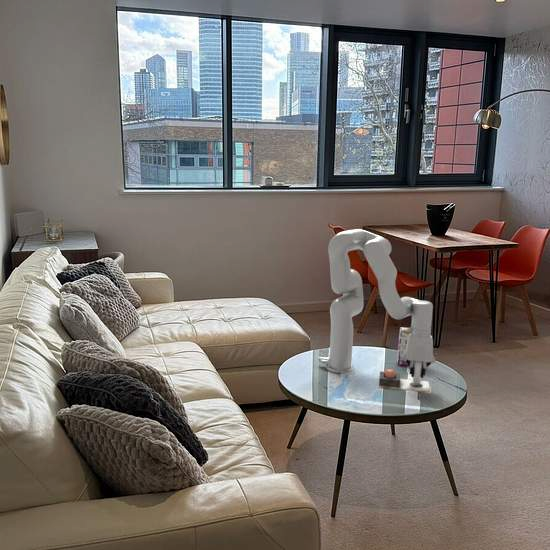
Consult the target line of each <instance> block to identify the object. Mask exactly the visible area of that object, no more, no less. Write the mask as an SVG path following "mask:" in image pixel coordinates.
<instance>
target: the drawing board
mask: <svg viewBox="0 0 550 550" xmlns="http://www.w3.org/2000/svg"><path fill="white" fill-rule="evenodd" d="M378 380H379V382H378V388H379V389H390V390H397V391H398V390H399V391H408V392H417V393H418V392H419V393H426V394H432V390H431V383H430V381H428V380H421V382H420V383H415V382H413V379H412V378H411V379H410V378H401V373H400V372H395V378H386V377H385V371H379V379H378Z"/></svg>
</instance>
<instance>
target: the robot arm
mask: <svg viewBox="0 0 550 550" xmlns="http://www.w3.org/2000/svg"><path fill="white" fill-rule="evenodd" d="M356 250H360V251H362V252H363V255H364V257H365V259H366V261H367V262H368V265H369V266H370V268H371V270H372V272H373V273H374V276H375V278H376V280H377V284H378V285H377V286H378V292H379V297H380V300H381V303H382V304H383V306H384V308H385V310H386V311H387V313H388V314H389V316H391V318H392V319H395V320H403V319H404V318H406V317H407V318H408V317H410V316H411V325H410V327H406V328H407V332H410V334H409V336H408V341H407V346H406V352H405V353H404V354H403V356H402V357H401V358H402V360H403V361H405V362H407V364H408V365H409V375H411V376H410V377H411V378H413V376H414V365H413V363H414V361H420V362H423V365H422V372H421V379H424V376H426V369H427V368H428V367H429V366H431V365H433V364H435V363H436V361H437V360H436V358H435V357H434V354H433V351H434V339H433V336H432V335H431V333H432V331H431V330H432V321H433V309H434V306H433V303H432V302H431V301H428V300H421V299H416V298H414V297H411V296H402V297H401V296H400V295H399V293H398V290H397V287H396V279H397V276H398V275H397V274H398V271H397V268H396V266H395V263H394V262H393V261H392V259H391V257H390V254H391V252H392V244H391V242H390V241H389V240H388V238H385V237H383V236H380V235H378V234H375V233H373V232H370V231H367V230H364V229H361V228H353V229H348V230H344V231H340V232H338V233H337V234H335V235H334V236H333V237H332V238H331V239H330V241H329V243H328V248H327V253H328V257H329V270H330V271H329V273H330V284H331V285H330V286H331V290H332V291H333V292H334V293H335V294H337V295H342V296H340V297H338V298H336V299H334V300H333V301H332V302H331V305H330V308H329V315H330V341H329V342H330V345H329V356H326V357H324V356H319V357H318V362H320V364H325V369H326V370H327V371H328V372H332V373H336V374H342V372H343V373H344V372H351V371H353V370H355V369H356V367H355V365H354V364H353V363H352V359H353V343H354V324H353V317H354V316H357V315H359V314H360V313H361V312H362V311H363V309H364V290H363V280H362V276H361V275H360V273H359V272H358V271H357V270H355V269H354V268H353V269H352V268H351V261H350V257H349V255H348V254H349V252H350V251H356Z"/></svg>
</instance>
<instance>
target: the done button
mask: <svg viewBox="0 0 550 550" xmlns="http://www.w3.org/2000/svg"><path fill="white" fill-rule="evenodd" d="M384 372H385V377H386V378H395V373H396V370H395V369H391V368H387V369H385V370H384Z"/></svg>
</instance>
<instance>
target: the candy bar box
mask: <svg viewBox="0 0 550 550" xmlns="http://www.w3.org/2000/svg"><path fill="white" fill-rule="evenodd" d="M407 328H408V327H403V326H402V327H399V334H398V335H399V336H398V344H397V345H398V346H397V354H396V355H397V357H396V363H397V365H398V366H406V367H407V366H409V365H408V364H407V362H405V361H403V360H402V358H401V357H402V356H403V354H404V353H405V352H406V346H407V341H408V336H409V334H410V332H407ZM413 365H414V363H413ZM422 365H423V362H422ZM409 367H410V366H409Z"/></svg>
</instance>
